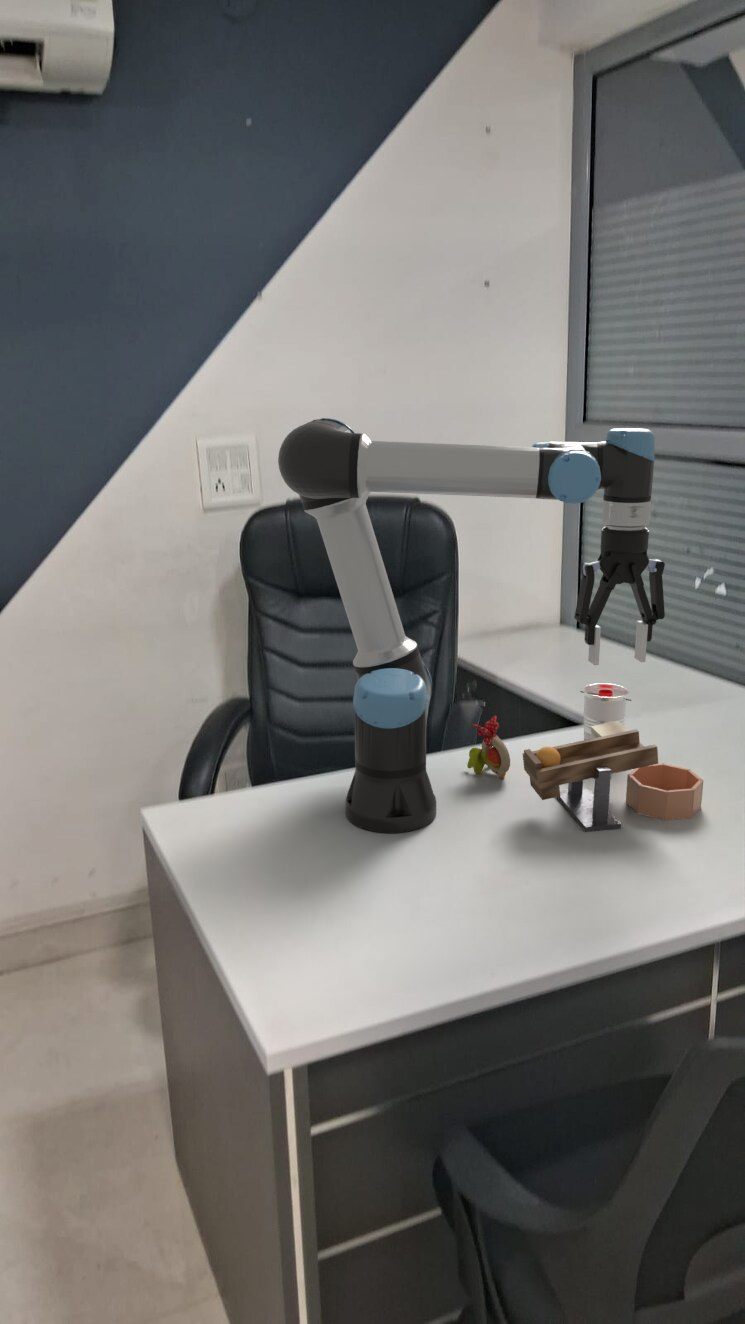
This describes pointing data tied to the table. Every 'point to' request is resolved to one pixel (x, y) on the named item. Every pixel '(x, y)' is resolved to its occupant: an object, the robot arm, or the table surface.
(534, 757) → the lever
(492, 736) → the bird rattle
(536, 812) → the table surface
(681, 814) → the terracotta octagonal bowl
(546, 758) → the ball
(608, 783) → the lever stand
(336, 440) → the robot arm
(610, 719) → the white ridged hollow cylinder
